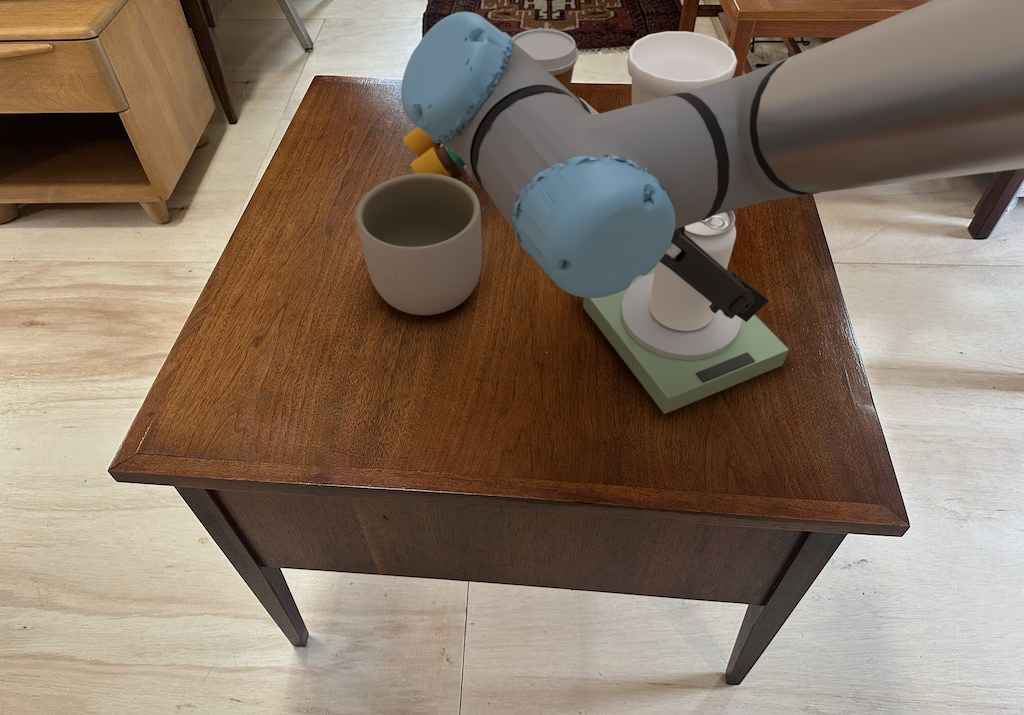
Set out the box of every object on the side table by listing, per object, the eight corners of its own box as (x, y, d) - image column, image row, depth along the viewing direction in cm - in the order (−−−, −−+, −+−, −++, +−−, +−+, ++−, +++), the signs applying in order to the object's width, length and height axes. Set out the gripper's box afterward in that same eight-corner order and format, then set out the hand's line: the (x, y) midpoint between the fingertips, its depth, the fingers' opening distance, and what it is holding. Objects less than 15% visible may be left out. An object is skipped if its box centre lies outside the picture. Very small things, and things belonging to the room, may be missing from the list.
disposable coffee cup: (508, 109, 103) (506, 27, 94) (573, 110, 103) (578, 27, 94) (505, 146, 97) (503, 61, 88) (575, 146, 97) (580, 61, 88)
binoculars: (459, 189, 96) (388, 112, 85) (544, 128, 93) (482, 39, 82) (483, 255, 87) (408, 177, 76) (578, 190, 84) (513, 98, 73)
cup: (727, 161, 94) (755, 48, 82) (682, 208, 88) (706, 93, 76) (645, 132, 99) (661, 21, 87) (597, 174, 93) (607, 61, 81)
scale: (782, 365, 71) (791, 344, 68) (664, 414, 67) (669, 393, 65) (690, 268, 80) (695, 247, 78) (582, 306, 77) (584, 285, 74)
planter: (477, 246, 83) (472, 167, 75) (491, 321, 75) (487, 241, 67) (371, 258, 82) (354, 179, 74) (374, 335, 74) (355, 256, 66)
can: (699, 342, 69) (726, 247, 60) (638, 319, 71) (654, 223, 62) (722, 301, 72) (750, 206, 63) (662, 280, 75) (682, 185, 65)
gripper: (485, 130, 62) (617, 220, 77) (637, 314, 47) (763, 380, 62) (540, 57, 59) (666, 166, 74) (720, 227, 44) (831, 319, 59)
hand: (710, 263), depth 68 cm, fingers open, 13 cm apart
